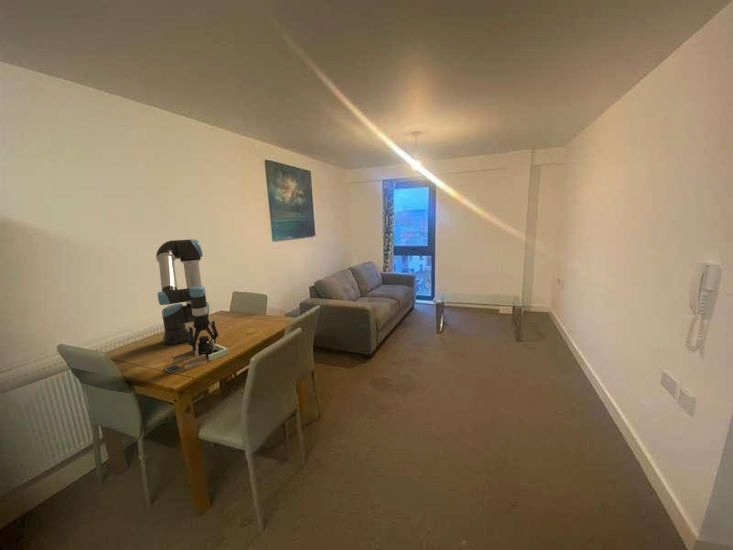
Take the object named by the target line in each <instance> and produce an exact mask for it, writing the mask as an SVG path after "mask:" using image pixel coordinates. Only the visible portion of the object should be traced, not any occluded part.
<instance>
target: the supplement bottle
mask: <svg viewBox="0 0 733 550" xmlns="http://www.w3.org/2000/svg"><path fill="white" fill-rule="evenodd" d="M198 341H199V342H198V343H197V346H198V353H199V356H201V355H203V354H205V355H206V359H207V360H209V357H208V355H210V354H213V351H212V346H211V341H210V338H209V336H208V335H202V336H200V337H199V336H198Z"/></svg>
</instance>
